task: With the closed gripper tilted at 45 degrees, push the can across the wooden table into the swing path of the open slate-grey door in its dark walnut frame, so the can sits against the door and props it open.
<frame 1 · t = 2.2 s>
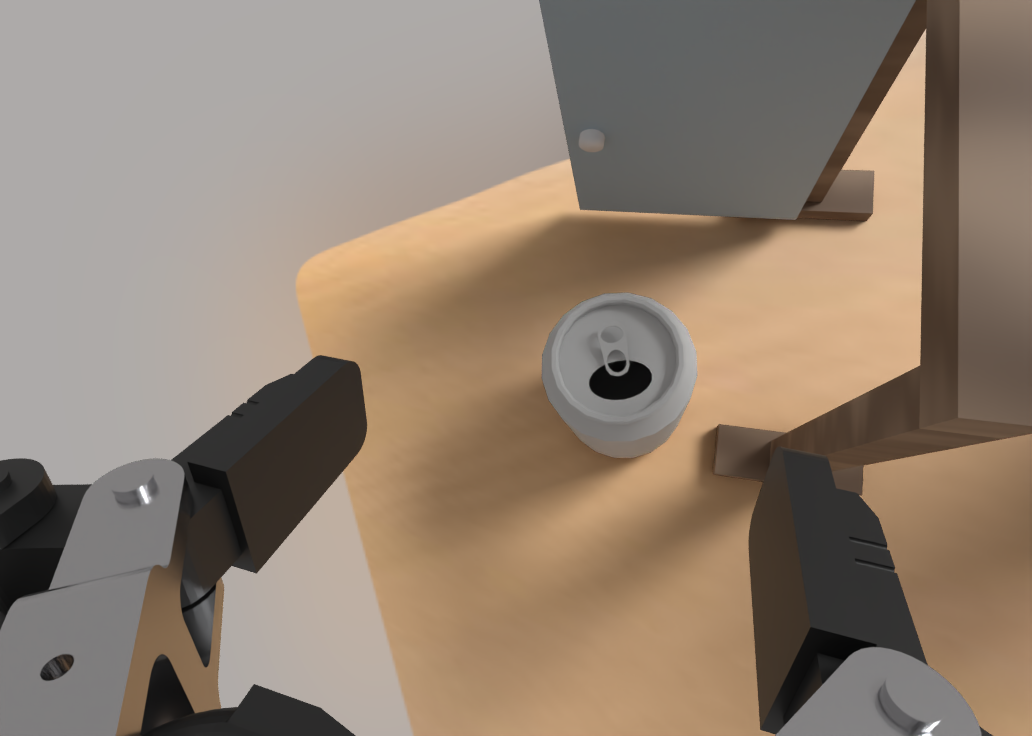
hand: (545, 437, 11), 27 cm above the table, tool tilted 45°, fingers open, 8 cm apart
can: (622, 402, 38), on the table
door frame: (799, 222, 38), on the table
door: (697, 121, 30), point 10 cm above the table, hinge at 90.0°
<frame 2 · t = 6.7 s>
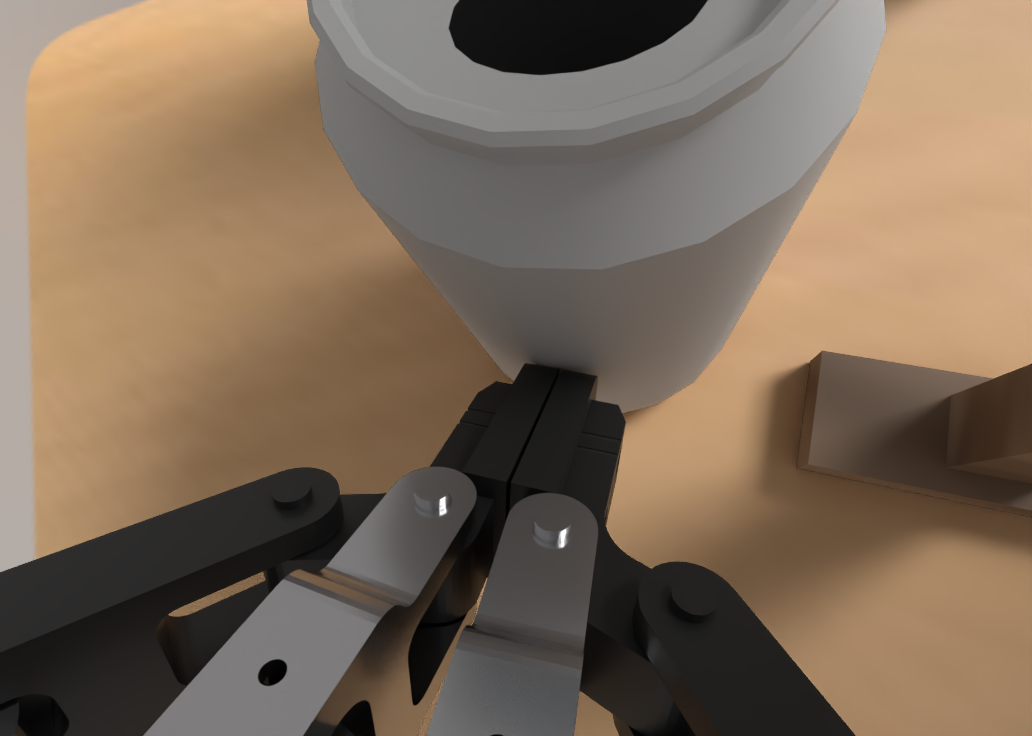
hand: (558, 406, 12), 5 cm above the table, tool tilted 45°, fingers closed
can: (602, 301, 18), on the table, touching gripper
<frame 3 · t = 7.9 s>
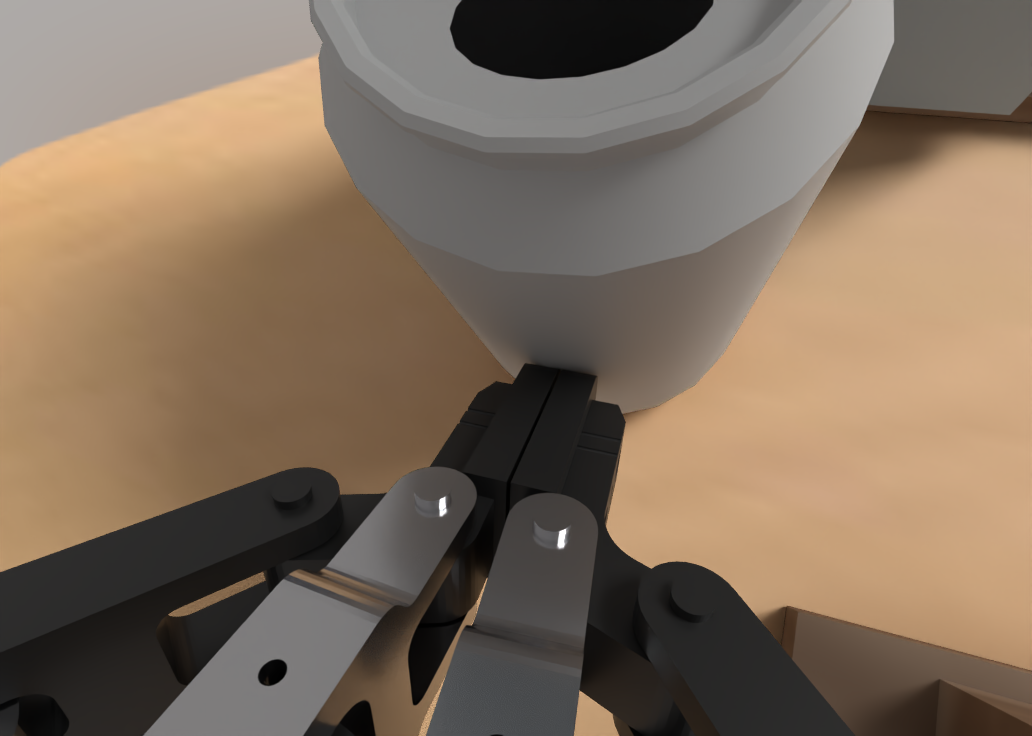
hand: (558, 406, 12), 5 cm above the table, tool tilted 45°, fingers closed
can: (606, 301, 17), on the table, touching gripper
door frame: (1004, 129, 16), on the table
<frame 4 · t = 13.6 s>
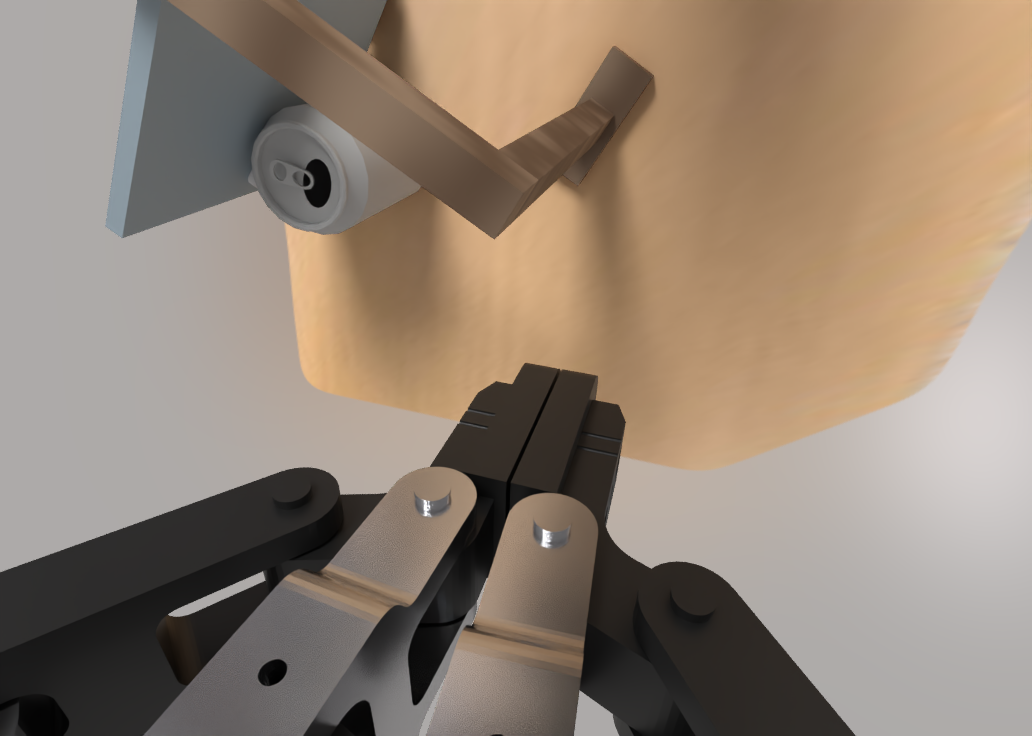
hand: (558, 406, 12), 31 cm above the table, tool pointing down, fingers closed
can: (393, 144, 43), on the table, touching door
door: (265, 90, 33), point 10 cm above the table, hinge at 90.6°, touching can
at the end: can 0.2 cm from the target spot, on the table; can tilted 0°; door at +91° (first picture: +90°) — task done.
